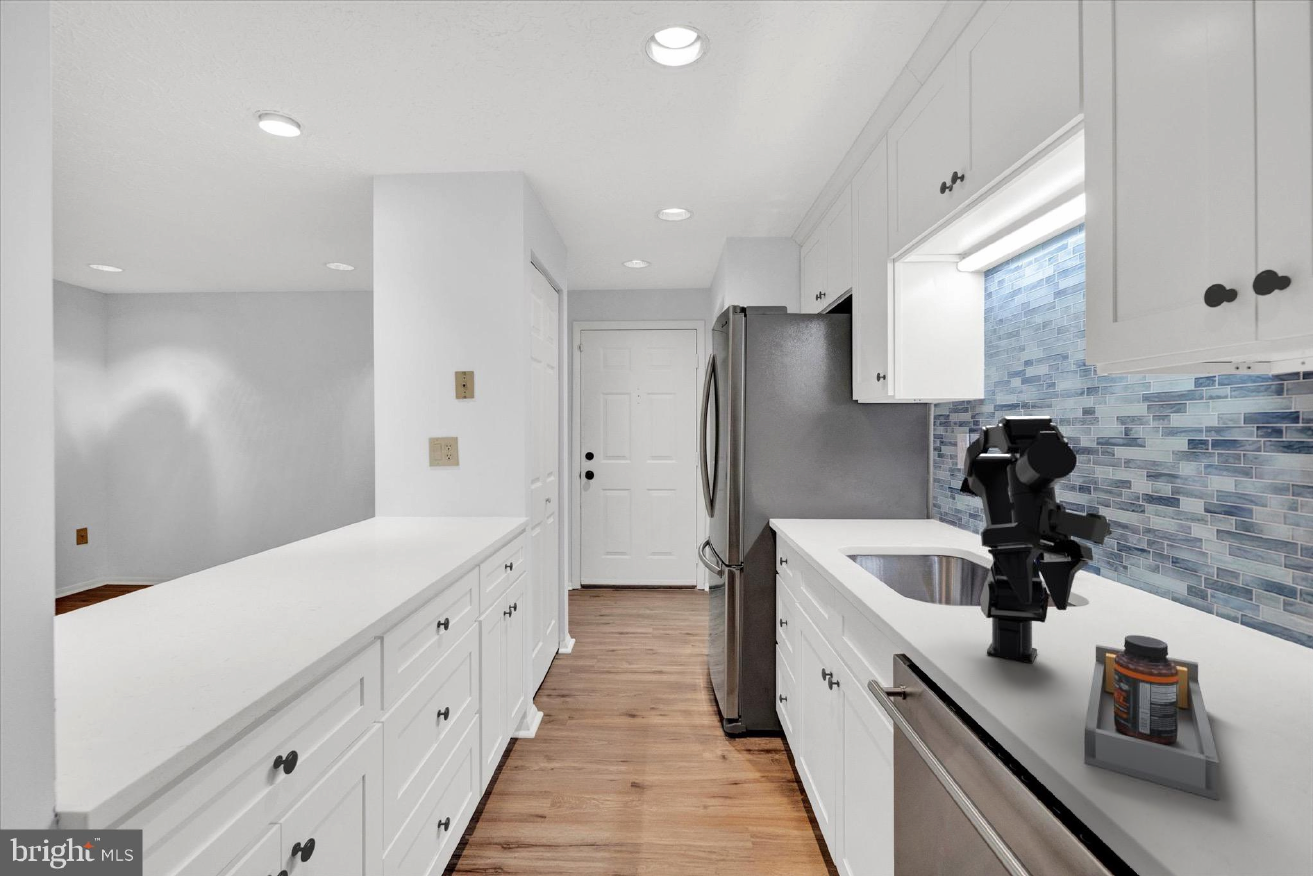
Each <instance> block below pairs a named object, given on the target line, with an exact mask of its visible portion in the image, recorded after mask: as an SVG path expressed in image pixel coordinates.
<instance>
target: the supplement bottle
mask: <svg viewBox="0 0 1313 876" xmlns="http://www.w3.org/2000/svg"><path fill="white" fill-rule="evenodd" d="M1123 644H1124V645H1123V648H1124V651H1123V652H1120V653H1118V654H1117V655H1116V656H1115V661H1114V724H1115V726H1116V728H1117V729H1118V730H1120V731H1121V732H1123V733H1124V734H1126V735H1127V736H1129V737H1133V738H1137V739H1141V740H1145V741H1149V742H1153V743H1157V744H1161V745H1163V744H1164V745H1166V744H1171V743H1173V742H1175V741H1176V740H1177V733H1178V669H1177V667H1176V665H1175V664H1174V663H1173V662H1171V661H1170V660H1168V659H1167V658H1166V657H1168V656H1169V652H1168V651H1169V648H1168V643H1167V642H1166V641H1163V640H1161V639H1158V638H1155V637H1151V636H1147V635H1146V636H1145V635H1137V634H1135V635H1133V634H1131V635H1126V636H1125V637H1124V643H1123Z"/></svg>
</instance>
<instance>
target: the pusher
mask: <svg viewBox="0 0 1313 876" xmlns="http://www.w3.org/2000/svg"><path fill="white" fill-rule="evenodd" d="M1115 656H1116V655H1113V654H1108V653H1106V691H1108V692H1113V693H1114V661H1115ZM1176 667H1177V669H1178V707H1183V708H1187V668H1185V667H1179V666H1176Z"/></svg>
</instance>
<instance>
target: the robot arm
mask: <svg viewBox="0 0 1313 876" xmlns="http://www.w3.org/2000/svg"><path fill="white" fill-rule="evenodd" d="M986 449H998V451H1000V452H1001V453H984V452H985V451H986ZM963 462H964V463H963V474H964V475H963V476H964V477H965V478H967V480H968V481H967V482H968V485H969V489H970V490H971V491H972V492H973V493H975V494H976V495H977V496H978V497H979V498H980V499H981V503H982V508H983V513H984V518H985V524H986V526H985V527H984V528H983V530H982V531H981V532H980V538H981V540H980V541H981V546H982V547H984V548H989V549H987V552H988V554H990V555H991V556H992V561H993V562H992V564H991V566H990V568H989V571H988V575H987V578H986V580H985V581H984V584H983V588H982V591H981V595H980V601H979V603H980V610H981V612H982V614H983V615H984V616H985V618H986V619H992V620H991V622H992V623H991V625H992V626H991V627H992V628H991V630H992V633H991V643H990V645H989V646H988V648H987V649H986V654H987V655H989V654H990V656H995V657H1000V658H1006V659H1010V660H1013V661H1014V660H1016V661H1020V662H1024V663H1029V664H1030V663H1031V664H1032V663H1033V662H1034V660H1035V657H1036V655H1037V653H1038V649H1037V648H1036V647H1033V622H1040V623H1046V620H1047V615H1048V607H1049V602H1050V598H1051V600H1052V602H1053V604H1054V606H1055V608H1056V610H1057V611H1066V610H1067V609H1068V605H1069V604H1068V603H1069V600H1070V596H1071V592H1072V587H1073V583H1074V579H1075V576H1076V574H1077V573H1078V572H1079V571H1081V570H1082V569H1083V568H1085V567H1086V568H1087V566H1088V565H1089V562H1091V563H1092V562H1094V555H1093V550H1092V549H1093V548H1092V547H1090V545H1088V544H1086V543H1085V542H1083V541H1084V540H1085V541H1088V542H1092V543H1094V544H1097V545H1101V546H1104V542H1105V539H1106V537H1109V536H1112V533H1113V531H1112V530H1111V529H1110V527H1111V523H1109V522H1108V521H1107V520H1108V519H1107V517H1106V516H1105V515H1103V514H1100V513H1098V514H1097V513H1093V512H1090V511H1088V512H1087V513H1086V514H1085V515H1084V514H1079V513H1074V512H1069V511H1067V509H1066V506H1065V505H1064V504H1063V503H1060V502H1057V496H1056V489H1055V488H1056V487H1055V486H1056V485H1057V484H1059V483H1060V482H1061V481H1063V480H1064V479H1065V478H1066V477H1068V476H1069V475H1071V473H1072V472H1073V471H1074V470H1075V469H1076V465H1077V454H1076V453H1075V452H1074V450H1073V449H1072V447H1070V446H1069V441H1068V439H1067V438H1066V437H1065V436H1064V434H1063V433H1062V432H1061V431H1060V429H1059V426H1058V425H1057V424H1056V423H1055V422H1054V423H1053V419H1052V417H1050V416H1049V415H1043V416H1042V415H1041V416H1040V415H1036V416H1035V415H1033V416H1030V415H1029V416H1028V415H1027V416H1024V415H1023V416H1003V417H1002V418H1001V419H1000V420H999V421H998V422H997V424H996V425H985V426H983V427H981V428H980V430H979V434H978V438H976V439H975V440H974V441H973V442H971V444H969V445H968V447H966V449H965V457H964V461H963ZM1072 537H1074V538H1077V539H1080V540H1081V539H1082V540H1083V541H1080V540H1076V539H1072ZM1036 558H1037V559H1038V561H1039V562H1036V561H1035V560H1036ZM1040 574H1041V575H1040ZM1042 579H1043V580H1042ZM1043 581H1044V583H1045V584H1043Z"/></svg>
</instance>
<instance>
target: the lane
mask: <svg viewBox="0 0 1313 876" xmlns="http://www.w3.org/2000/svg"><path fill="white" fill-rule="evenodd" d="M1124 650H1125V648H1118V647H1112V646H1107V645H1102V644H1101V645H1100V644H1095V662H1094V668H1093V674H1092V682H1091V687H1090V692H1089V693H1090V694H1089V700H1088V706H1087V712H1086V717H1085V722H1084V723H1085V724H1084V755H1083V756H1084V762H1083V763H1084V764H1086V765H1087V764H1088V765H1092V766H1095V767H1099V768H1101V769H1104V770H1105V769H1106V770H1108V771H1112V772H1117V773H1120V774H1124V775H1127V776H1131V777H1133V778H1138V779H1141V780H1144V781H1149V782H1152V783H1156V784H1159V785H1162V786H1165V787H1166V786H1167V787H1170V788H1173V789H1176V788H1177V789H1176V790H1180V789H1181V790H1180V791H1184V790H1185V791H1184V792H1187V793H1191V792H1192V794H1194V795H1198V794H1199V795H1198V796H1201V795H1203V796H1202V797H1205V796H1206V797H1205V798H1209V797H1210V798H1209V799H1213V800H1217V801H1219V800H1220V799H1219V798H1220V761H1219V757H1218V753H1217V749H1216V746H1215V742H1214V741H1215V740H1214V737H1213V734H1212V729H1211V726H1210V722H1209V718H1208V713H1207V710H1206V705H1205V702H1204V698H1203V694H1202V690H1201V686H1200V682H1199V662H1197V661H1192V660H1191V661H1190V660H1187V659H1182V658H1181V659H1180V658H1174V657H1168V656H1166V658H1167V659H1168V660H1170V661H1171V662H1173V663H1174V664H1175V665H1176V666H1179V667H1185V668H1187V708H1183V707H1178V733H1177V740H1176V741H1175V742H1173V743H1171V744H1166V745H1164V744H1163V745H1161V744H1157V743H1153V742H1149V741H1145V740H1141V739H1137V738H1133V737H1129V736H1127V735H1126V734H1124V733H1123V732H1121V731H1120V730H1118V729H1117V728H1116V726H1115V724H1114V693H1113V692H1108V691H1106V653H1108V654H1113V655H1117V654H1118V653H1120V652H1123V651H1124Z"/></svg>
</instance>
